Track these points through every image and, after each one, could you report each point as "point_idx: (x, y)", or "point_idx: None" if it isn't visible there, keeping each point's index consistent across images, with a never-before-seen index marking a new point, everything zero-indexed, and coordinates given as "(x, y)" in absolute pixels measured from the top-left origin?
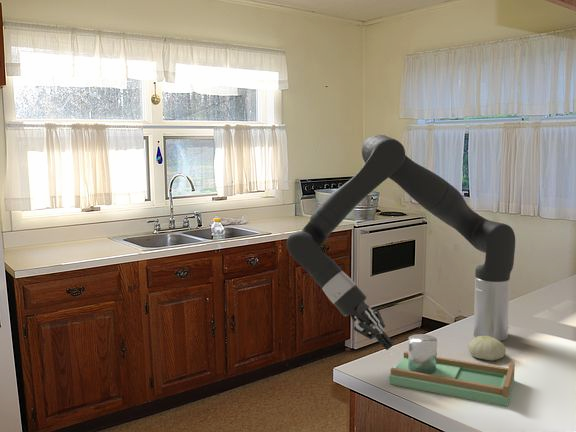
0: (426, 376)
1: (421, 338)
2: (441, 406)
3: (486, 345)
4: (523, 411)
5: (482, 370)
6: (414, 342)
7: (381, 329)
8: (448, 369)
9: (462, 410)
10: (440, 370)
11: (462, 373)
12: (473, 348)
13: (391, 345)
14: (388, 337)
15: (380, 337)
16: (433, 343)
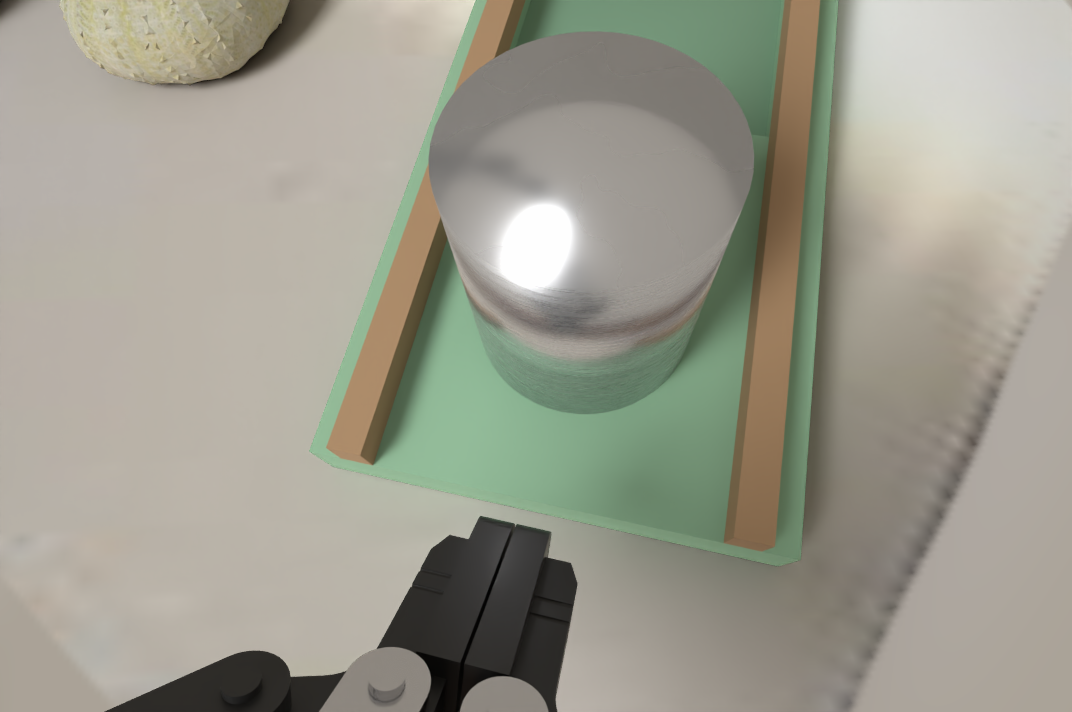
0: (796, 261)
1: (570, 160)
2: (975, 221)
3: None
4: None
5: (523, 4)
6: (730, 218)
7: (424, 709)
8: None
9: (968, 126)
10: None
11: None
12: (213, 28)
13: (550, 539)
14: (468, 579)
15: (555, 704)
16: (682, 56)
